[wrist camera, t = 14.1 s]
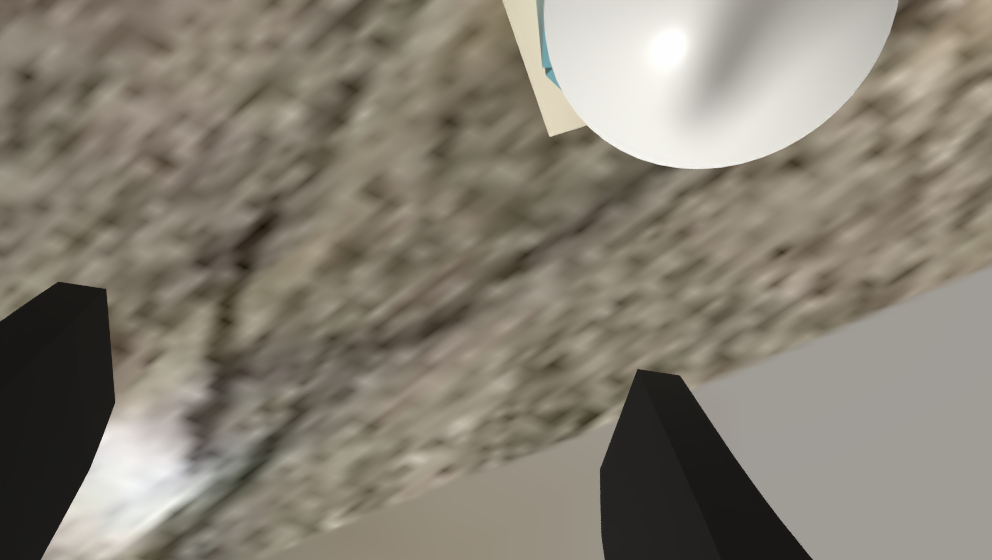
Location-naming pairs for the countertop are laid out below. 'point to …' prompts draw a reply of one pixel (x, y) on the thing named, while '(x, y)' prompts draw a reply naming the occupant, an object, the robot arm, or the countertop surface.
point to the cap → (709, 71)
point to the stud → (540, 69)
